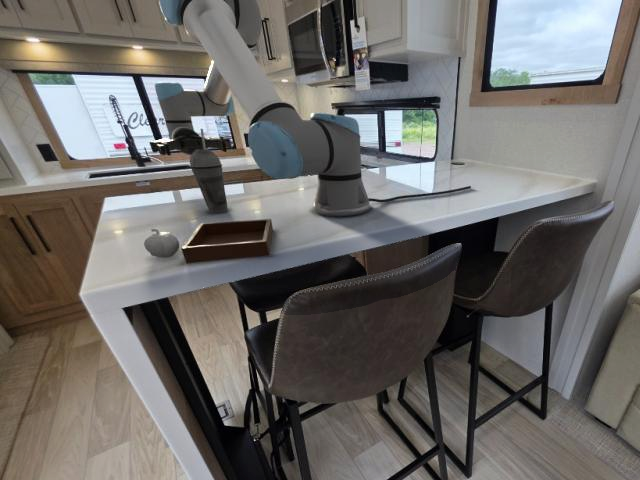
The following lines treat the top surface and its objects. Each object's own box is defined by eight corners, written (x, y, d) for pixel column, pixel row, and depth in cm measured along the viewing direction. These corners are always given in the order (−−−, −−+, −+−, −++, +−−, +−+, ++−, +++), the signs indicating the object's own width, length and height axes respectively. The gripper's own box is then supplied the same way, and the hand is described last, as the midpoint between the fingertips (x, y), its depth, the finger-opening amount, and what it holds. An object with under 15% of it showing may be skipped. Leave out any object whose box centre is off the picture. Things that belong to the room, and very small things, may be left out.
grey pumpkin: (148, 253, 65) (138, 228, 62) (180, 247, 67) (171, 222, 65) (151, 264, 60) (139, 237, 58) (184, 257, 63) (175, 231, 61)
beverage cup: (203, 209, 91) (179, 128, 81) (232, 206, 94) (212, 127, 84) (203, 216, 86) (177, 130, 75) (234, 212, 88) (213, 129, 78)
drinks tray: (273, 231, 76) (270, 218, 75) (269, 255, 64) (266, 241, 63) (204, 236, 73) (200, 223, 71) (186, 263, 61) (180, 248, 59)
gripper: (232, 151, 112) (248, 159, 97) (144, 156, 99) (147, 167, 85) (226, 126, 108) (242, 130, 93) (134, 128, 95) (135, 134, 81)
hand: (197, 148), depth 89 cm, fingers open, 13 cm apart
